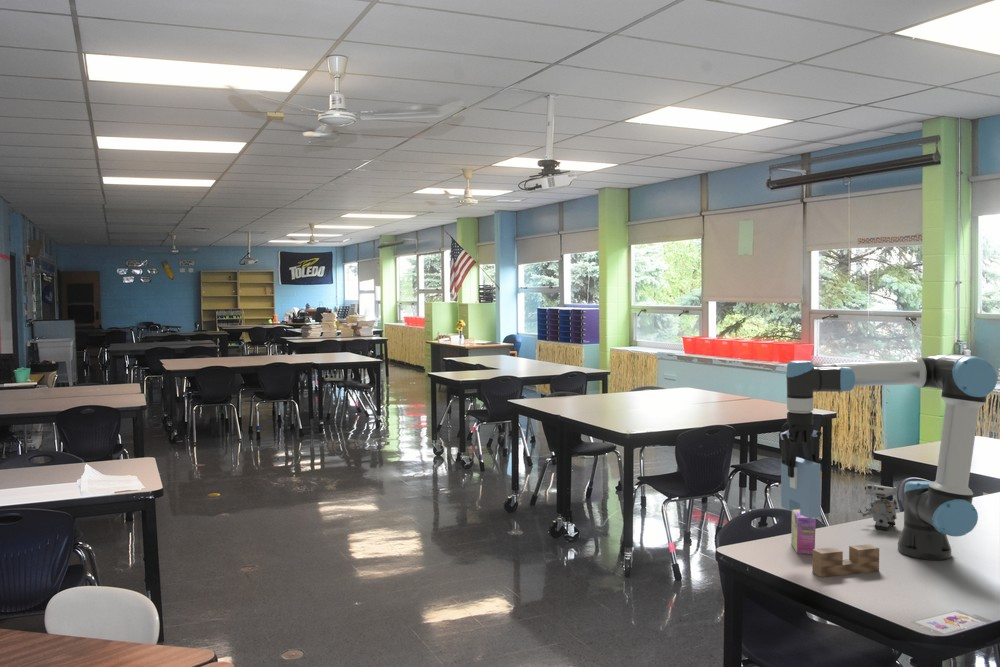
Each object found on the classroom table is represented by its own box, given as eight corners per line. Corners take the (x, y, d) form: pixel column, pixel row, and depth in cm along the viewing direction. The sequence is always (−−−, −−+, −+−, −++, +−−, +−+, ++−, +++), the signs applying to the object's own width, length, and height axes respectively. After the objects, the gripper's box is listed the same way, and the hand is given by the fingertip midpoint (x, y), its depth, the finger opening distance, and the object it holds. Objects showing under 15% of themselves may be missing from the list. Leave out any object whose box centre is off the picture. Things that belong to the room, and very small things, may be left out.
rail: (869, 566, 233) (869, 544, 232) (879, 571, 229) (879, 548, 228) (812, 572, 228) (812, 549, 228) (821, 577, 224) (821, 553, 224)
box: (815, 554, 245) (815, 518, 244) (796, 553, 246) (797, 517, 245) (809, 544, 255) (809, 509, 254) (791, 543, 256) (791, 508, 256)
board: (781, 506, 241) (780, 456, 240) (792, 505, 242) (792, 455, 241) (808, 518, 227) (808, 464, 227) (820, 517, 228) (820, 464, 227)
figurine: (866, 521, 283) (866, 480, 283) (900, 526, 275) (900, 485, 275) (857, 526, 276) (857, 485, 276) (891, 532, 269) (892, 489, 268)
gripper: (816, 408, 239) (817, 482, 240) (768, 411, 235) (768, 486, 236) (832, 411, 232) (832, 488, 232) (782, 414, 228) (782, 492, 228)
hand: (800, 487), depth 234 cm, fingers closed on board, 4 cm apart
